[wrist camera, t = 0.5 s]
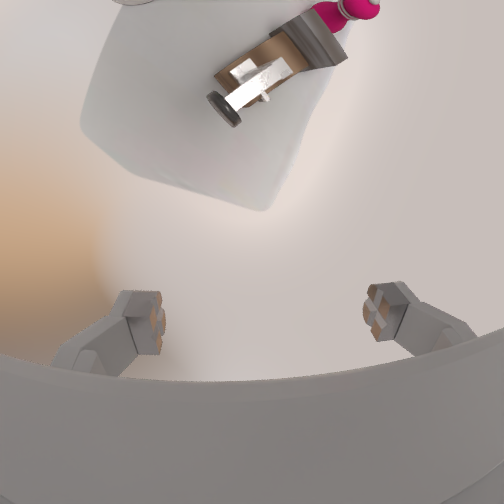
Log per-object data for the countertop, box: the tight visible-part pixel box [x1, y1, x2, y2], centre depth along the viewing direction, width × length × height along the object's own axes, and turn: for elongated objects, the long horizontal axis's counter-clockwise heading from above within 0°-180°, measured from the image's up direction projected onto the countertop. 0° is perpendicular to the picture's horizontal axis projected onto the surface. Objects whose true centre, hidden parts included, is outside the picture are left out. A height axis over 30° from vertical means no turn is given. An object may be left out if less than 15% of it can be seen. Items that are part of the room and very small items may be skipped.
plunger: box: [206, 57, 293, 128], centre depth 35 cm, size 11×8×20 cm
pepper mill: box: [310, 0, 380, 33], centre depth 33 cm, size 7×7×20 cm
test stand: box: [214, 8, 348, 107], centre depth 39 cm, size 17×10×14 cm, turn 128°
